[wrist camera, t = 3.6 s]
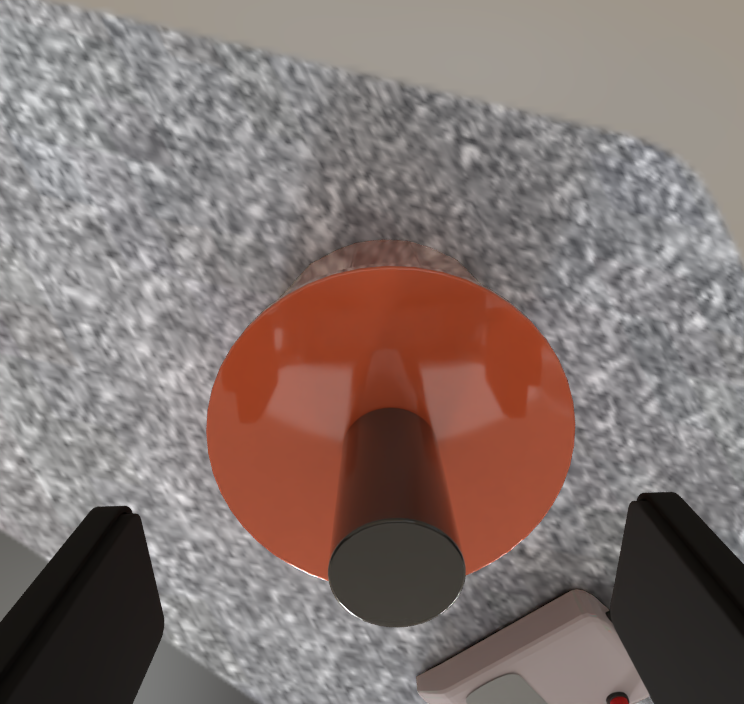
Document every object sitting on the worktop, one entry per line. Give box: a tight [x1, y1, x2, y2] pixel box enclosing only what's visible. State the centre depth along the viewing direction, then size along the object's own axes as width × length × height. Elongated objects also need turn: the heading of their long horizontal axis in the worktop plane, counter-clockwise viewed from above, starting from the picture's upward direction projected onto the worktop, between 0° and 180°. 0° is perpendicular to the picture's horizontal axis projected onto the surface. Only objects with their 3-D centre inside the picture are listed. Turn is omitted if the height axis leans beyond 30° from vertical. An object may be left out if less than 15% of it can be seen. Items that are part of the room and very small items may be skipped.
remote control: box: [416, 589, 650, 704], centre depth 24 cm, size 7×16×3 cm, turn 130°
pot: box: [281, 240, 481, 297], centre depth 17 cm, size 9×9×6 cm
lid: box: [206, 263, 575, 627], centre depth 12 cm, size 10×10×6 cm
